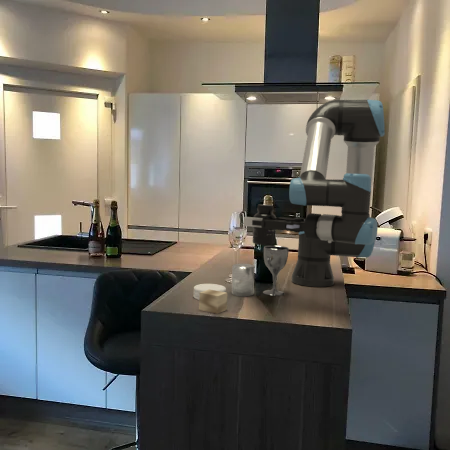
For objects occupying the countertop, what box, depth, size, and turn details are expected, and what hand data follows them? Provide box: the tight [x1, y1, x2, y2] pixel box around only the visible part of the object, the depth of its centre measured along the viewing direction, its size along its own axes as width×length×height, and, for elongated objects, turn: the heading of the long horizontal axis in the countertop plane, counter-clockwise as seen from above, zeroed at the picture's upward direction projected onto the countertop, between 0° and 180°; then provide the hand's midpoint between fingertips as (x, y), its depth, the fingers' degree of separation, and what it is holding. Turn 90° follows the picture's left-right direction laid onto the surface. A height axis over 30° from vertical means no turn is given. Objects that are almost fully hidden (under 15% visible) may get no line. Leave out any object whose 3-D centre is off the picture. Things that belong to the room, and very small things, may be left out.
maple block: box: [198, 289, 228, 315], centre depth 137 cm, size 6×5×5 cm
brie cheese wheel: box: [192, 283, 227, 301], centre depth 151 cm, size 10×10×4 cm
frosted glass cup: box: [231, 263, 255, 297], centre depth 157 cm, size 7×7×9 cm
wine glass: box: [262, 245, 289, 297], centre depth 160 cm, size 8×8×15 cm
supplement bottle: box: [252, 204, 277, 246], centre depth 150 cm, size 7×7×12 cm
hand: (250, 220), depth 153 cm, fingers closed on supplement bottle, 7 cm apart
